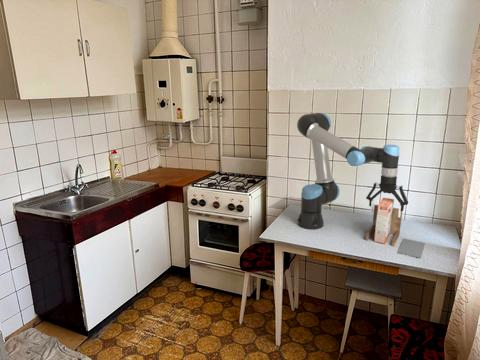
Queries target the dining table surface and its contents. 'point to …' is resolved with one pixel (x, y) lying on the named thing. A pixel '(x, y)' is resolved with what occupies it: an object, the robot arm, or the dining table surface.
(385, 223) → the cracker box
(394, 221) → the brown wooden legged piece
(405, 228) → the dining table surface
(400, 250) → the mat
